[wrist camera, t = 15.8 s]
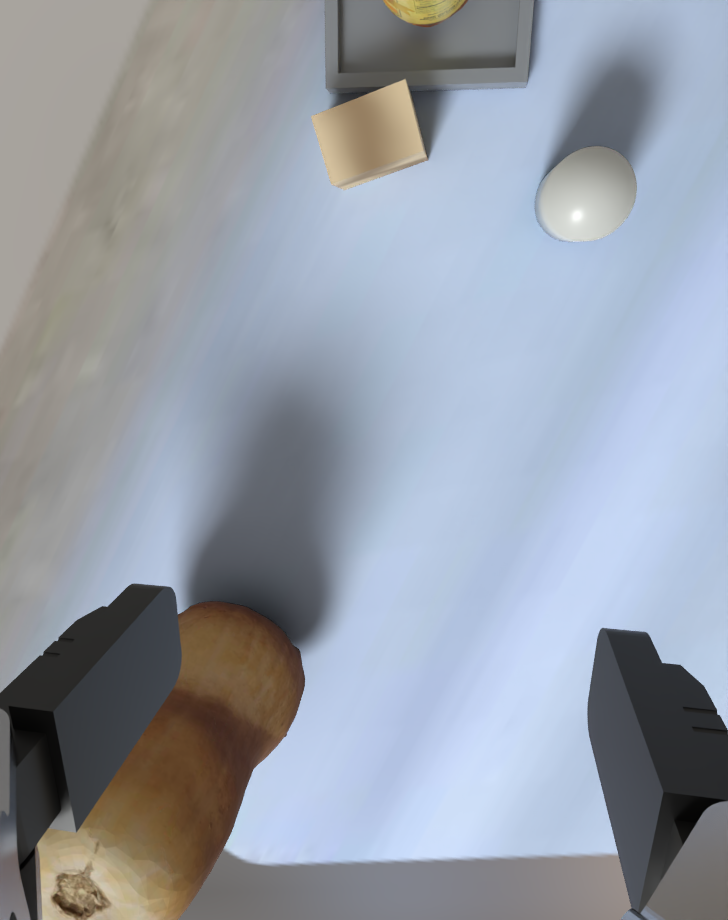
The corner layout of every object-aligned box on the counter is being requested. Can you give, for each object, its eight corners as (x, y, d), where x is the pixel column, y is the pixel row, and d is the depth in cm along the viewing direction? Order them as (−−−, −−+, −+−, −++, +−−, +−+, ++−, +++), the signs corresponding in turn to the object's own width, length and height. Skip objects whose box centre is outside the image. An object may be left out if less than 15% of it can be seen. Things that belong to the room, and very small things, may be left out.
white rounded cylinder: (618, 159, 40) (642, 145, 34) (608, 242, 41) (629, 241, 36) (538, 160, 41) (549, 146, 35) (531, 241, 42) (540, 241, 37)
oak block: (411, 96, 41) (405, 79, 36) (428, 160, 42) (423, 150, 38) (326, 129, 42) (310, 116, 38) (344, 190, 43) (331, 184, 39)
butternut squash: (252, 548, 53) (83, 782, 30) (345, 662, 56) (257, 962, 32) (143, 620, 58) (-78, 874, 34) (233, 723, 60) (84, 1026, 37)
